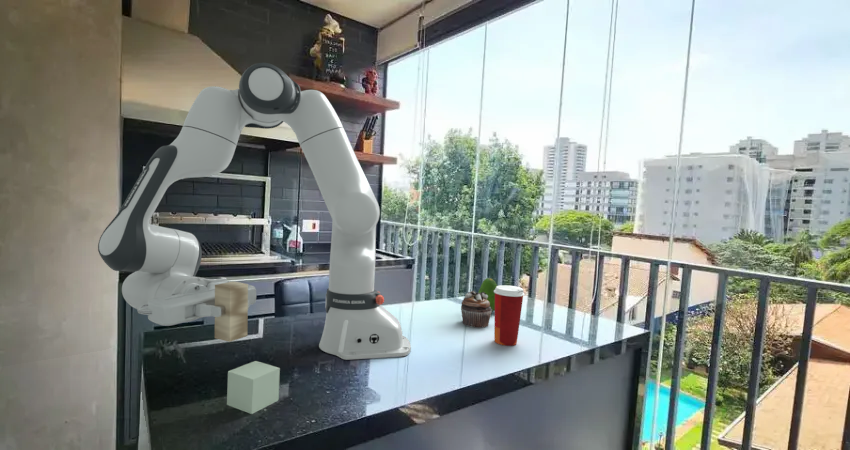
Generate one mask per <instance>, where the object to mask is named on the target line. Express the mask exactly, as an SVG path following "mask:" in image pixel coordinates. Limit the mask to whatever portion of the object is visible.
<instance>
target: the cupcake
mask: <svg viewBox="0 0 850 450" xmlns="http://www.w3.org/2000/svg"><path fill="white" fill-rule="evenodd" d="M487 298H488V295H486V293H485V292H481V293H478V292H476V291H475V290H471V291H468V292H467V293H465V295H464V297H463V299H462V301H461V306H460V310H461V311H460V312H461V318H462V324H463V325H465V326H467V327H470V328H477V329H481V328H486V327H487V328H488V326H489V323H490V319H491V315H492V312H493V311H492V309H491V307H490V306H489V305H490V302H489V301H488V300H487Z"/></svg>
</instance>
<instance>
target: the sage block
mask: <svg viewBox="0 0 850 450" xmlns="http://www.w3.org/2000/svg"><path fill="white" fill-rule="evenodd" d="M280 371H281V368H280V367H277V366H275V365H271V364H269V363H265V362H261V361H258V360H254V361H251V362H249V363H246V364H243V365H241V366H238V367H235V368H233V369H230V370H228V371H227V390H226V391H227V392H226V393H227V394H226V406H229V407H231V408H234V409H237V410H240V411H242V412H245V413H248V414H250V415H253V414H255V413H257V412H258V411H260V410H263V409H265V408H267V407H269V406H270V405H272V404H275V403H277V402H278V401H279V398H280V397H279V395H280V393H279V392H280V376H281V375H280V373H281V372H280Z"/></svg>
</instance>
